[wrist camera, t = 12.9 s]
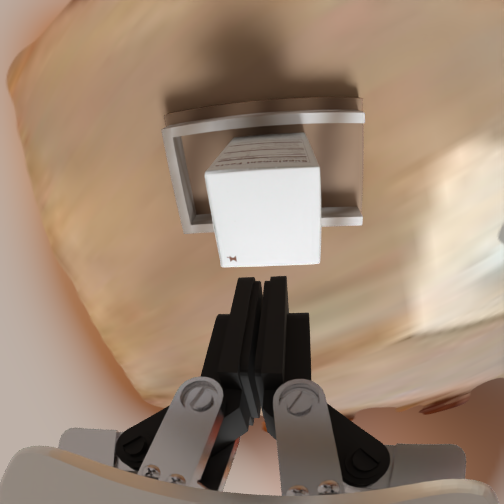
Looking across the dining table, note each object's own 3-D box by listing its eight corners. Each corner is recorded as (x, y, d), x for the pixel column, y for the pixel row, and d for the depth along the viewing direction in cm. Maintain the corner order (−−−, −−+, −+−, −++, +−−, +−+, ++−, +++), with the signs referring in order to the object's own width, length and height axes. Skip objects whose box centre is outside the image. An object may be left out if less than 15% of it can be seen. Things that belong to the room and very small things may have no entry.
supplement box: (308, 198, 31) (321, 268, 21) (240, 201, 32) (217, 270, 22) (306, 130, 27) (323, 166, 17) (232, 134, 28) (200, 172, 18)
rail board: (358, 97, 26) (369, 100, 23) (358, 218, 34) (365, 235, 30) (168, 113, 29) (154, 118, 26) (191, 226, 36) (182, 243, 33)
